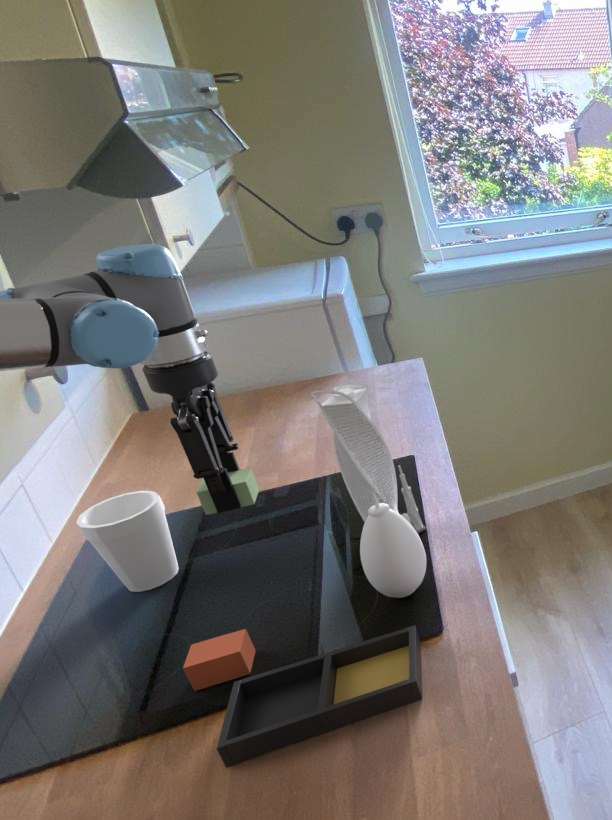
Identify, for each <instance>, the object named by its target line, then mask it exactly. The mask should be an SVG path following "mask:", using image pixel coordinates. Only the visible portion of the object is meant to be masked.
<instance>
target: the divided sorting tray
mask: <svg viewBox="0 0 612 820" xmlns="http://www.w3.org/2000/svg"><path fill="white" fill-rule="evenodd" d="M422 699H423V676H422V643H421V639H420V636H419V633H418V629H417V627H416V625H411V626H408V627H405V628H402V629H399V630H395V631H392V632H389V633H386V634H383V635H379V636H376V637H373V638H370V639H367V640H364V641H360V642H357V643H354V644H351V645H347V646H344V647H341V648H337V649H335V650H331V651H328V652H325V653H322V654H319V655H316V656H312V657H309V658H306V659H302V660H299V661H296V662H293V663H290V664H287V665H284V666H280V667H277V668H273V669H271V670H268V671H264V672H261V673H258V674H255V675H254V674H253V675H252V676H248V677H246V678H242V679H239V680H236V681H233V685H232V688H231V692H230V696H229V699H228V704H227V708H226V711H225V715H224V719H223V723H222V726H221V728H220V729H221V730H220V733H219V738H218V741H217V745H216V747H215V748H216V751H217V753H218V755H219V757H220V759H221V760H222V763H223V765H224V767H225V768H229V767H231V766H233V765H238V764H241V763H243V762H246V761H248V760H251V759H254V758H257V757H259V756H262V755H266V754H269V753H272V752H273V751H277V750H280V749H283V748H286V747H289V746H291V745H294V744H297V743H300V742H303V741H306V740H309V739H311V738H315V737H318V736H320V735H322V734H326V733H328V732H332V731H335V730H337V729H340V728H344V727H345V726H349V725H351V724H354V723H357V722H360V721H363V720H365V719H370V718H371V717H374V716H377V715H381V714H383V713H386V712H389V711H392V710H395V709H398V708H400V707H403V706H406V705H409V704H411V703H415V702H417V701H420V700H422Z"/></svg>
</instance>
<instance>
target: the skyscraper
mask: <svg viewBox="0 0 612 820" xmlns="http://www.w3.org/2000/svg"><path fill="white" fill-rule="evenodd" d="M370 388H371V387H369V385H366V384H342V385H337V386H334V387H333V388H332V389H333V390H331V389H329V390H328V389H323V390H314V391H312V392H311V393H310V396H311V398H312V399H313V401H314V402H315V403H316V404H317V405H318V407H319V408H320V411H321V412H322V414H323V416H324V417H325V419H326V421H327V423H328V424H329V426H330V428H331V430H332V434H333V444H334V445H333V446H334V450H335V457H336V460H337V464H338V468H339V470H340V471H339V472H340V473H341V476H342V480H343V481H344V485H345V487H346V490H347V492H348V494H349V496H350V497H351V500H352V503H353V504H354V506H355V509H356V510H357V512H358V513H359V516H360V517H361V519H362V521H363V522H364V523H365V521H366V519H367V517H368V516H369V515H368V510H369V508H370V507H372V506H373V505H375V503H374V500H373V495H372V492H374V493H375V495H376V498H377V500H378V503H385V504H388V505H389V508H390V509H392V510H394V511H396V512H397V513H399V509H398V507H399V506H398V505H399V504H398V503H399V502H398V501H399V500H398V499H399V498H398V497H399V496H398V483H397V482H398V481H397V474H396V467H395V464H394V460H393V456H392V454H391V452H390V451H391V450H390V448H389V446H388V444H387V441H386V439H384V437H383V435H382V434H381V432H380V431H379V429H378V428H377V426H376V425H375V423H374V422H373V421H372V414H371V409H372V408H371V389H370ZM320 394H331V395H329V397H328V398H326V400H324V401H323V402H322V403H321V401H320V400H319V399H318V397H316V395H320ZM397 467H398V471H399V475H398V476H399V479H400V482H401V486H402V487H401V490H400V492H401V494H402V495H403V499H404V502H405V507H406V512H404V513H402V514H400V515H401V516H403V517H404V518H405V519H406V520H407V521H408V522H409V523H410V524H411V525H412V527H413V528H414V529H415V531H416V532H417V534H418V535H419V534H420V533H422V532H423V531H426V530H427V527H426V526H425V525H424V523H423V522H422V518H421V516H420V513H419V508H418V506H417V503H416V501H415V498H414V495H413V492H412V486H411V485H409V484H408V482H407V479H406V475H405V473H403V470H402V467H401V465H400V464H399V465H397ZM364 523H363V524H364Z"/></svg>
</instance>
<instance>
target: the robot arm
mask: <svg viewBox="0 0 612 820" xmlns="http://www.w3.org/2000/svg"><path fill="white" fill-rule="evenodd" d="M95 261H96V263H97V264H96V270H93V271H90V272H88V273H83V274H78V275H74V276H68V277H64V278H58V279H54V280H49V281H44V282H37V283H34V284H29V285H24V286H19V287H13V286H12V287H8V288H7V289H5V290H1V291H0V372H5V371H15V370H26V369H38V368H39V369H40V368H57V367H68V366H79V365H89V366H91V367H97V368H101V369H127V368H131V367H133V366H135V365H138V364H140V365H143V367H142V373H143V375H144V377H145V379H146V382H147V384H148V386H149V389H150V390H151V392H153V393H156V394H159V395H169V396H171V397H172V398H171V399H172V402H171V403H170V407H171V408H172V412H173V414H174V415H175V416H176V417H171V418H170V420H169V423H170V426H172V428H173V430H174V432H175V433H176V434H177V437H178V439H179V442H180V444H181V446H182V449H183V451H184V454H185V455H186V458H187V460H188V463H189V465H190V467H191V470H192V472H193V476H192V477H193V478H194V479H196V480H199V479H203V478H204V481H205V483H206V486H207V488H208V491H209V493H210V495H211V498H212V500H213V503H214V505H215V507H216V510H217V512H218V513H217V514H221V513H225V512H230V511H234V510H238V509H241V508H242V507H241V505H240V502H239V500H238V497H237V495H236V492H235V490H234V487H233V484H232V482H231V479H230V477H229V474H228V472H233V471H238V470H241V469H240V466H239V464H238V461H237V459H236V457H235V453H234V451H237V450H239V443H237V442H235V443H233V442H234V436H233V434H232V431H231V428H230V425H229V423H228V420H227V418H226V416H225V413H224V411H223V408H222V404H221V402H220V399H219V397H218V394H217V391H216V384H215V383H214V381H215V380H216V379H217V378H218V376H219V373H218V370H217V367H216V365H215V362H214V358H213V357H212V354H211V353H210V352H209V351H207V350H208V345H207V341H206V339H205V338H206V337H207V336H208V335H209V334H208V331H207V330H206V329H201V327H200V324H199V320H198V318H197V316H196V313H195V310H194V308H193V305H192V302H191V298H190V296H189V293H188V291H187V288H186V284H185V281H184V277H183V274H182V273H181V271H180V269H179V267H178V264H177V262H176V260H175V259H174V256H173V254H172V253H171V251H170V250H169V249H168V248H167V247H166V246H164V245H160V244H155V243H141V244H131V245H124V246H119V247H114V248H113V247H112V248H111V249H107V250H103V251H101V252H99V253H98V254H97V255H96V257H95Z"/></svg>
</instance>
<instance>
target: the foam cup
mask: <svg viewBox="0 0 612 820" xmlns="http://www.w3.org/2000/svg"><path fill="white" fill-rule="evenodd" d="M165 510H166V506H165V505H164V503H163V500H162V498H161V496H160V494H158V493H157V492H155V491H154V490H138V491H137V490H136V491H131V492H125V493H123V494H122V493H121V494H119V495H116V496H113V497H109V498H107V499H104V500H103V501H100V502H98V503H96V504H94V505H91V506H90V507H88V508H87V509H86V510H85V511H83V512H82V513H81V514H79V516H78V517H77V520H76V522H75V523H76V524H75V525H77V527H78V529H79V531H80V533H81V535H82V536H83V537H84V538H85V540H87V541H89V543H90V544H91V545H92V546H93V548H94V549H95V550H96V551H97V552H98V554H99V555H100V556H101V558H102V559H103V560H104V562H105V563H106V565H108V566H109V568H110V569H111V571H113V573H114V574H115V575H116V577H117V578H118V579H119V580H120V582H121V583H122V584H123V585H124V587H126V589H128V591H130V592H132V593H133V592H135V593H140V592H146V591H151V590H152V589H156V588H158V587H160V586H162V585H164V584H166V583H167V582H169V581H170V580H172V579H174V578H175V576H177V574H178V573H179V569H180V567H179V564H178V560H177V556H176V551H175V548H174V544H173V540H172V536H171V531H170V527H169V524H168V520H167V516H166V512H165Z"/></svg>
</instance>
